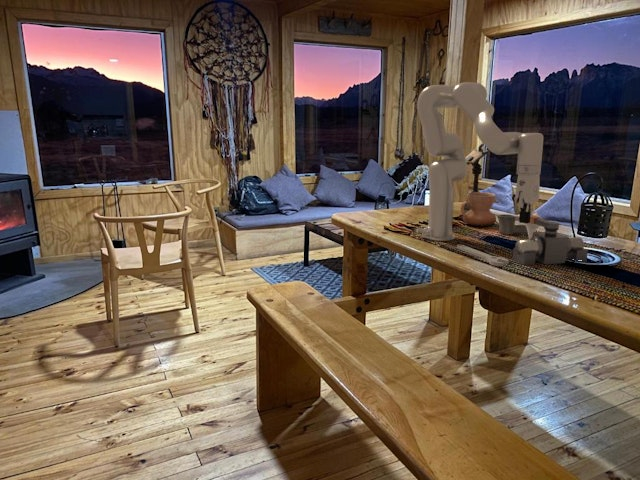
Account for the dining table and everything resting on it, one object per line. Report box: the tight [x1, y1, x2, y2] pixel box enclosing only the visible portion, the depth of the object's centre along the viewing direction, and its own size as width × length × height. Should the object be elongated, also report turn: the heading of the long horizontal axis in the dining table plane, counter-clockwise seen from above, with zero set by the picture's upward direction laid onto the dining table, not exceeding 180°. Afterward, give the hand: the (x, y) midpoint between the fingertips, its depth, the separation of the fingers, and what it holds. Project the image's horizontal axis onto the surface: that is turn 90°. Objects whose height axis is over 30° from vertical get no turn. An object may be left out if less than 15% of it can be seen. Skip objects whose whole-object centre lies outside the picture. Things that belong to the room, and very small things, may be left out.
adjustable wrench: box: [456, 244, 509, 267], centre depth 171 cm, size 25×6×2 cm, turn 16°
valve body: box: [512, 229, 589, 266], centre depth 164 cm, size 23×8×11 cm, turn 99°
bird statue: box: [464, 143, 490, 213], centre depth 241 cm, size 17×13×35 cm
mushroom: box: [517, 211, 542, 240], centre depth 188 cm, size 10×11×12 cm
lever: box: [530, 213, 560, 231], centre depth 168 cm, size 17×4×2 cm, turn 9°
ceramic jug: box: [460, 191, 500, 227], centre depth 217 cm, size 18×14×14 cm
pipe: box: [496, 213, 528, 236], centre depth 201 cm, size 6×13×8 cm, turn 77°
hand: (524, 222), depth 168 cm, fingers closed
